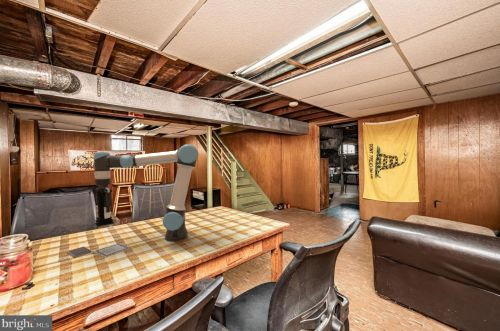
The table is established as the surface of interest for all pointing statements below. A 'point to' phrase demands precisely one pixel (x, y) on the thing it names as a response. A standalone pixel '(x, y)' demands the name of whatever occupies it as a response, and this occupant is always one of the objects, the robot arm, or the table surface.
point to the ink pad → (79, 252)
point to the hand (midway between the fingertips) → (104, 217)
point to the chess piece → (101, 211)
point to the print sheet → (111, 250)
